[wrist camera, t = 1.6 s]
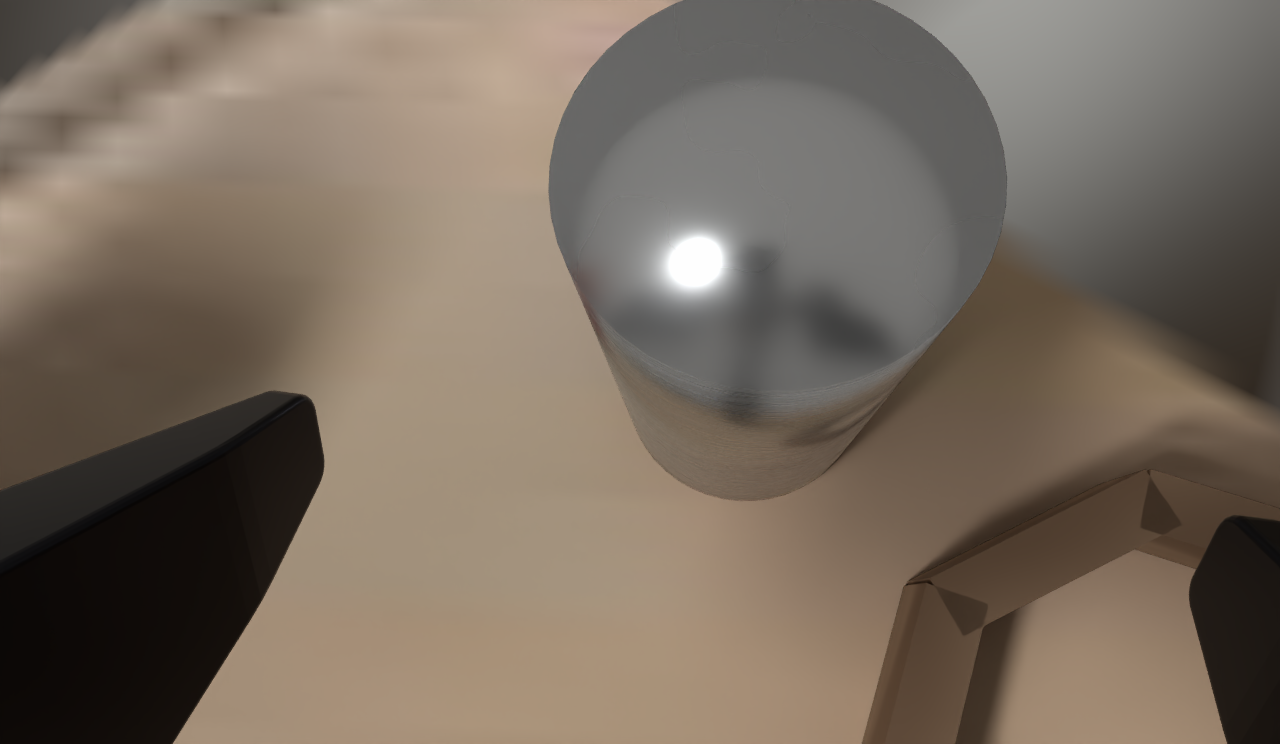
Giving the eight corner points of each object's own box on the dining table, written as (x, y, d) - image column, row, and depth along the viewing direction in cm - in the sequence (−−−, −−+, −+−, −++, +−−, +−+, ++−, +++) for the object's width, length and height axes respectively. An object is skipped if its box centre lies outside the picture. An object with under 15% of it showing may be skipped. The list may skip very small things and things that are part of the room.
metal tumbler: (907, 435, 19) (1101, 259, 10) (691, 542, 19) (668, 472, 9) (791, 238, 21) (858, -82, 11) (589, 335, 20) (481, 93, 11)
